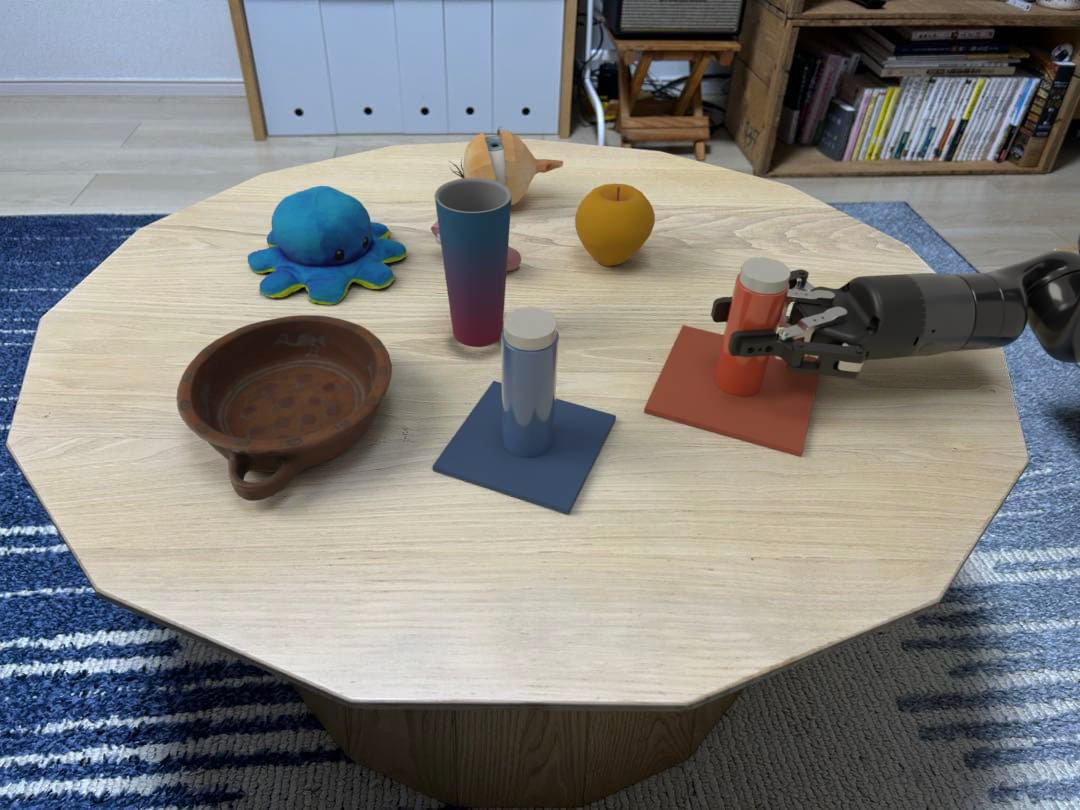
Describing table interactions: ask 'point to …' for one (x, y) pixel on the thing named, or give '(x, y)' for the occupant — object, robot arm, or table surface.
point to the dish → (284, 395)
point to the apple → (614, 222)
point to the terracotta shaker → (751, 322)
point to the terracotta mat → (733, 396)
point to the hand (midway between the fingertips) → (722, 327)
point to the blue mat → (530, 479)
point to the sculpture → (504, 162)
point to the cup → (475, 255)
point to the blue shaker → (529, 381)
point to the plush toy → (324, 247)
